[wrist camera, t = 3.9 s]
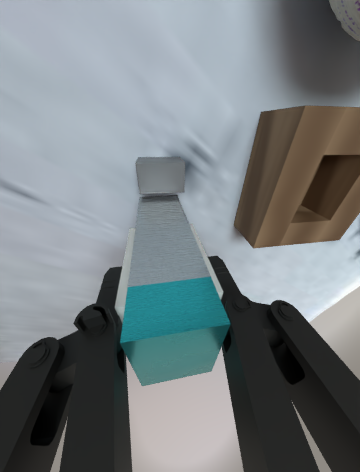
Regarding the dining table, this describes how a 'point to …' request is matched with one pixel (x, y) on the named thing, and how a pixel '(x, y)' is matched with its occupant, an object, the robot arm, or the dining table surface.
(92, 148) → the dining table surface
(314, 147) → the port
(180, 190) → the pair of grey prisms
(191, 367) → the plug
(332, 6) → the white floral bowl
